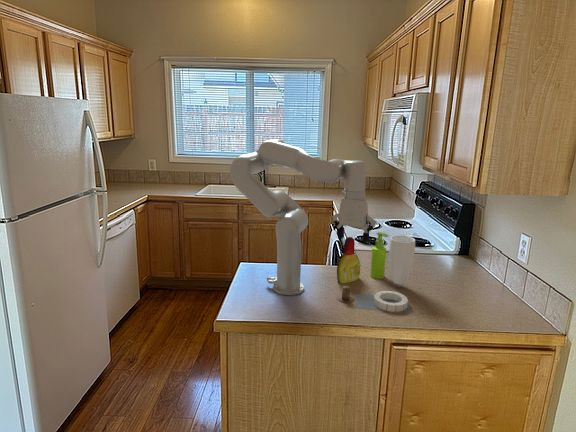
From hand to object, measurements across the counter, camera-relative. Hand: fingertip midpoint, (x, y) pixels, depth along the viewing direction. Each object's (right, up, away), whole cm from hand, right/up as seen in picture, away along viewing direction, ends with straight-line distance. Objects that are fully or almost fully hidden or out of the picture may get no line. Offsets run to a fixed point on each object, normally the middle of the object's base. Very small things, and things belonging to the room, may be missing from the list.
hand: (353, 240), depth 148 cm
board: (+11, -25, +2) cm, 27 cm away
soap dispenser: (+16, -18, +28) cm, 37 cm away
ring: (+14, -24, +1) cm, 28 cm away
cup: (+21, -21, +16) cm, 34 cm away
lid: (-2, -24, +4) cm, 24 cm away
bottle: (+1, -19, +22) cm, 30 cm away
